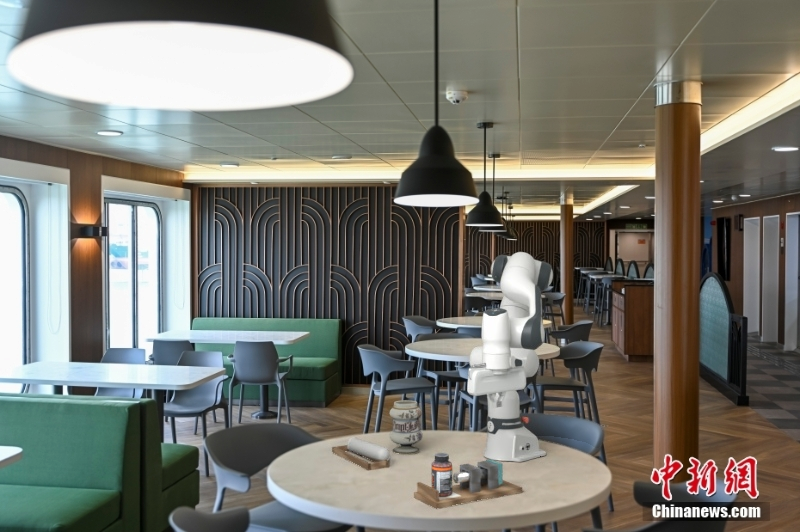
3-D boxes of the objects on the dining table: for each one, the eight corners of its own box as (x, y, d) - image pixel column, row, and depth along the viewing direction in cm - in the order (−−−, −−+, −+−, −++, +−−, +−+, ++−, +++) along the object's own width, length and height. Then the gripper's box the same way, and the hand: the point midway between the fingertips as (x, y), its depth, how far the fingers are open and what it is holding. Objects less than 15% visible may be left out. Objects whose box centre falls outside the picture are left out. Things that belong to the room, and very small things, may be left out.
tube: (390, 465, 246) (357, 453, 268) (394, 449, 247) (361, 438, 269) (377, 461, 244) (345, 450, 266) (381, 445, 245) (349, 435, 267)
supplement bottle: (430, 491, 212) (430, 452, 212) (450, 490, 212) (450, 451, 213) (432, 497, 206) (432, 457, 206) (453, 497, 206) (453, 456, 207)
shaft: (490, 479, 222) (490, 459, 222) (502, 483, 216) (502, 463, 217) (450, 486, 214) (449, 465, 214) (461, 491, 209) (461, 470, 209)
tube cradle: (352, 449, 270) (352, 444, 270) (388, 467, 245) (388, 461, 245) (332, 452, 266) (332, 447, 266) (367, 470, 241) (367, 464, 241)
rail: (497, 482, 227) (497, 455, 227) (522, 492, 216) (522, 464, 216) (413, 497, 212) (413, 469, 212) (436, 509, 201) (436, 479, 201)
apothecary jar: (402, 445, 276) (402, 397, 276) (429, 450, 269) (428, 401, 269) (382, 452, 266) (382, 402, 266) (410, 457, 259) (409, 406, 259)
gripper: (474, 366, 217) (475, 413, 217) (528, 360, 227) (529, 404, 227) (462, 363, 222) (463, 409, 222) (515, 357, 232) (516, 401, 233)
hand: (497, 406), depth 225 cm, fingers closed
